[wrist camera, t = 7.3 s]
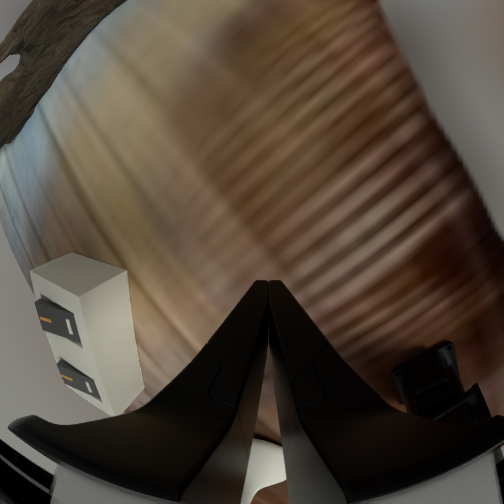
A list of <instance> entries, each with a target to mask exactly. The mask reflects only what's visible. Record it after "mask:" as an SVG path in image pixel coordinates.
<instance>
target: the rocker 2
mask: <svg viewBox="0 0 504 504" xmlns="http://www.w3.org/2000/svg"><path fill="white" fill-rule="evenodd" d="M57 367H58V369H59V371H60V374H61V376H62V378H63V380H64V383H65V384H67V385H69V386H71V387H73V388H75V389H77V390H80V391H82V392H84V393H86V394H89V395H91V396H94V397H96V398H99V399H101V397H100V395H99V392H98V390H97V387H96V385H95V382H94V380H93V379H92V378H90V377H89V376H87V375H86V374H84V373H83V372H81V371H80V370H78V369H77V368H75V367H74V366H72V365H71V364H69V363H67V362H65V361H62V360H60V361H59V362H58V363H57Z"/></svg>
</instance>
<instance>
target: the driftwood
mask: <svg viewBox="0 0 504 504" xmlns="http://www.w3.org/2000/svg"><path fill="white" fill-rule="evenodd" d="M125 1H126V0H33V1H32V2H31V3H30V4H29V5H28V7H27V8H26V9H25V10H24V12H23V13H22V14H21V16H20V17H19V18H18V20H17V21H16V23H15V24H14V26H13V27H12V29H11V30H10V32H9V33H8V35H7V36H6V38H5V39H4V40H3V41H2V42H1V43H0V63H1V62H2V61H3V60H5V59H6V58H7V57H8V56H9V55H13V54H20V56H21V57H20V61H19V64H18V65H17V67H16V69H15V70H14V71H13V72H11V73H10V74H8V75H7V76H5V77H4V78H3V79H2V80H1V81H0V149H1V148H2V146H3V145H4V144H5V143H6V144H9V143H10V142H11V141H12V139H13V138H14V136H15V135H17V134H18V133H19V132H20V130H21V129H22V127H23V125H24V124H25V122H26V121H27V119H28V117H29V116H30V115H31V114H32V113H33V111H34V106H35V105H36V104H37V103H38V101H39V100H40V98H41V97H42V96H43V95H44V94H45V92H46V91H47V90H48V89H49V88H50V86H51V85H52V83H53V81H54V80H55V78H56V76H57V75H58V73H59V72H60V71H61V69H62V68H63V65H64V64H65V63H66V61H67V60H68V59H69V58H70V57H71V55H72V54H73V52H74V51H75V50H76V48H77V47H78V45H79V44H80V43H81V42H82V41H83V40H84V38H85V37H86V35H87V34H88V33H89V32H90V31H91V30H92V29H93V28H94V27H95V26H96V25H97V24H98V23H99V22H100V21H101V20H102V18H103V17H104V16H105V15H107V14H108V13H110V12H111V11H113V10H114V9H115V8H116V7H117V6H119V5H121V4H122V3H124V2H125Z"/></svg>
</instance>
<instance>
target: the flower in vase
mask: <svg viewBox="0 0 504 504" xmlns="http://www.w3.org/2000/svg"><path fill="white" fill-rule="evenodd" d="M248 462H249V463H248V468H247V474H246V479H245V484H244V489H243V494H242V498H241V503H240V504H250V503H251V501H252V498H253V496H254V495H255V493H256V492H257V491H258V490H260V489H261V488H264V487H267V486H270V485H273V484H276V483H279V482H282V481H284V480H286V472H285V464H284V462H285V461H284V456H283V449H282V447H281V446H279V445H276V444H274V443H271V442H267V441H264V440H259V439H254V438H253V441H252V447H251V452H250V458H249V461H248Z"/></svg>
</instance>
